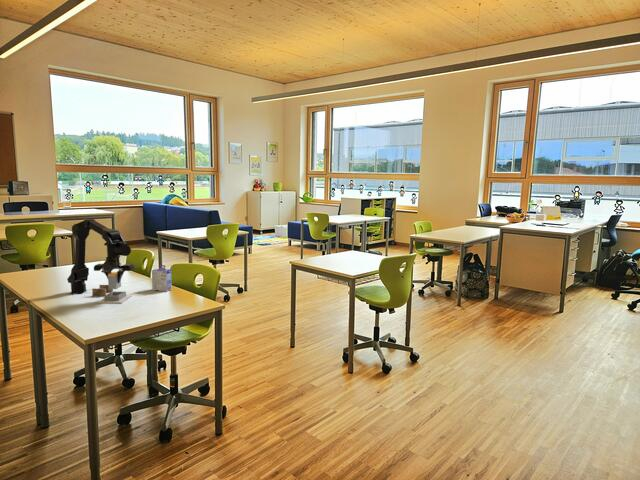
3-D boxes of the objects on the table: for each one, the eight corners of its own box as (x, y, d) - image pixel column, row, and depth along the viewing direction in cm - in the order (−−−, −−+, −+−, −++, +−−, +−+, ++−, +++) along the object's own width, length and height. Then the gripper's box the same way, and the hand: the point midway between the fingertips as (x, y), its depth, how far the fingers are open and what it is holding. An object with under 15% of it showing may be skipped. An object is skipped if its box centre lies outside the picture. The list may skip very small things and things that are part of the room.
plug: (108, 289, 232) (107, 274, 231) (113, 286, 238) (112, 271, 236) (116, 289, 232) (115, 274, 231) (121, 286, 238) (120, 271, 237)
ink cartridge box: (172, 289, 259) (171, 265, 257) (167, 291, 253) (166, 267, 251) (157, 288, 261) (156, 264, 259) (151, 290, 255) (150, 266, 253)
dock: (98, 303, 228) (97, 297, 228) (110, 296, 242) (109, 290, 242) (121, 303, 229) (121, 297, 228) (132, 296, 243) (131, 290, 242)
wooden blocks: (92, 296, 242) (92, 289, 242) (100, 291, 252) (100, 284, 251) (105, 296, 242) (105, 289, 242) (113, 291, 252) (112, 284, 251)
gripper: (87, 256, 224) (89, 286, 226) (125, 257, 224) (126, 287, 227) (97, 253, 235) (99, 281, 237) (133, 253, 235) (134, 281, 238)
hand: (114, 283), depth 234 cm, fingers closed on plug, 4 cm apart
